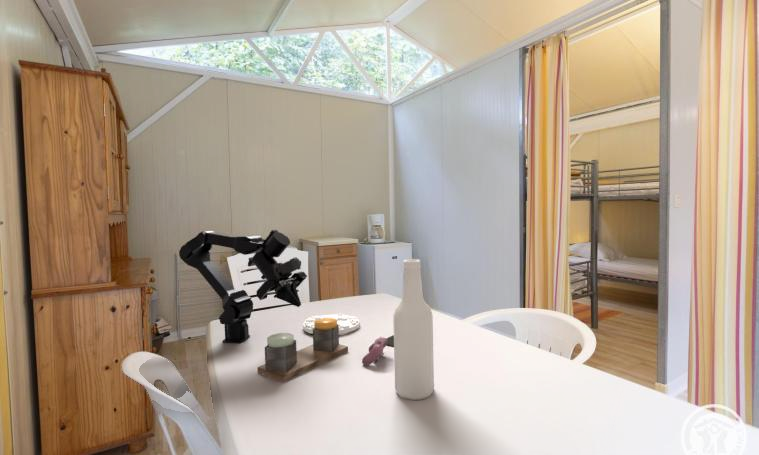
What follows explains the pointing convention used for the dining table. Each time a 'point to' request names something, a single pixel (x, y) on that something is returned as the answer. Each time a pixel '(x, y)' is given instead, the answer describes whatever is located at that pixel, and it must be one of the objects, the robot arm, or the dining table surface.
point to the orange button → (325, 323)
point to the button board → (301, 355)
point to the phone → (390, 341)
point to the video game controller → (375, 351)
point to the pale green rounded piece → (280, 340)
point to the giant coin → (343, 322)
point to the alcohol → (413, 338)
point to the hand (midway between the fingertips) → (299, 305)
